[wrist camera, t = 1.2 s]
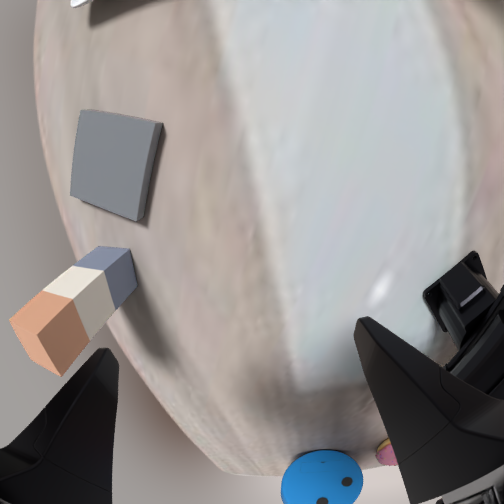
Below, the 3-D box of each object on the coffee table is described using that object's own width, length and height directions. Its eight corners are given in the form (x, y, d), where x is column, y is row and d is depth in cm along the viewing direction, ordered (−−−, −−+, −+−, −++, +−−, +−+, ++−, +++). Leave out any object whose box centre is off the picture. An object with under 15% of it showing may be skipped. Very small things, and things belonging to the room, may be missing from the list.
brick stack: (129, 248, 23) (36, 334, 12) (137, 285, 25) (61, 377, 14) (98, 246, 24) (8, 319, 13) (107, 280, 26) (31, 359, 14)
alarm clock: (285, 459, 38) (274, 527, 25) (286, 447, 36) (274, 525, 22) (354, 457, 36) (353, 525, 23) (362, 445, 33) (363, 521, 20)
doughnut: (384, 455, 36) (385, 472, 32) (366, 441, 33) (367, 462, 29) (436, 434, 31) (440, 452, 28) (428, 416, 29) (433, 438, 25)
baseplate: (163, 122, 18) (155, 123, 17) (143, 216, 22) (136, 221, 20) (89, 109, 18) (80, 109, 17) (78, 192, 22) (70, 195, 20)
